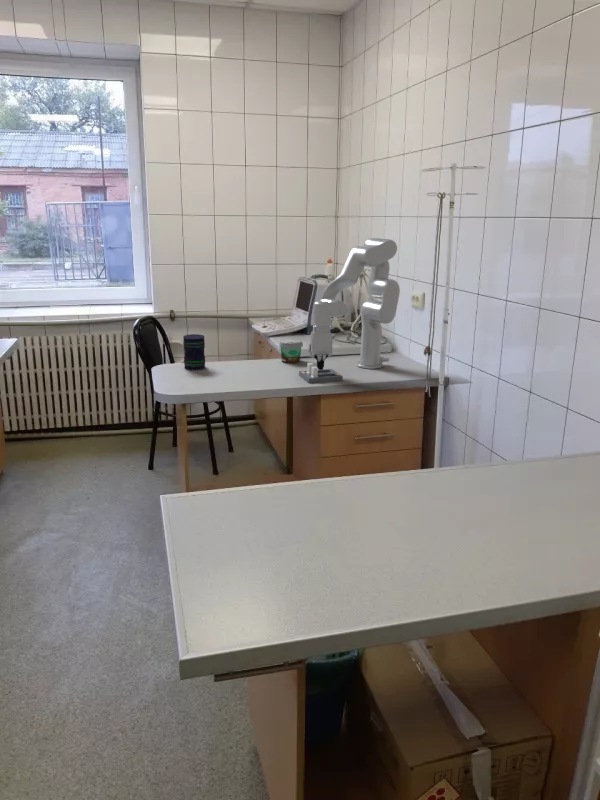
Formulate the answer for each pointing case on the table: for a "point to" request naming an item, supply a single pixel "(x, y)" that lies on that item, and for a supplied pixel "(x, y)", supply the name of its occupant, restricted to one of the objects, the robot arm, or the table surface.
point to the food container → (291, 352)
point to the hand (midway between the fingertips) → (320, 369)
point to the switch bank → (321, 376)
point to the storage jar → (194, 352)
